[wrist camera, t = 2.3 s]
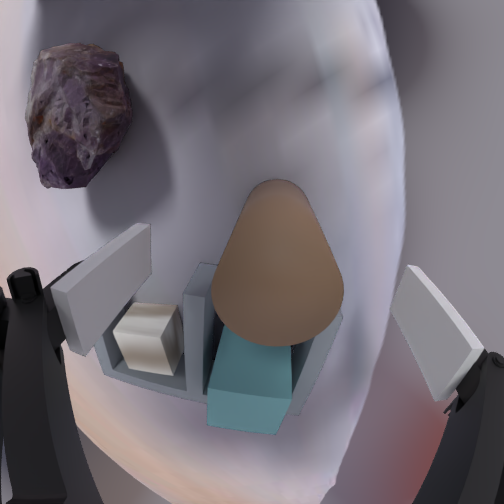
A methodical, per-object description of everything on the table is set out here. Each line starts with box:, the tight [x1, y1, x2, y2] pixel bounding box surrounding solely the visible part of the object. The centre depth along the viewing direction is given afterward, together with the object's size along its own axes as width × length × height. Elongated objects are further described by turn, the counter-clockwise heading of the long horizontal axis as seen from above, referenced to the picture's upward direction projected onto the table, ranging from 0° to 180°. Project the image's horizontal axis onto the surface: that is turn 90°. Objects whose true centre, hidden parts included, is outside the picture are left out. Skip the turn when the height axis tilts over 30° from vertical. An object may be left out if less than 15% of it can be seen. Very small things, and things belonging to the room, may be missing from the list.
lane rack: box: [94, 263, 343, 416], centre depth 24 cm, size 14×22×5 cm, turn 83°
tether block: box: [207, 179, 344, 435], centre depth 18 cm, size 19×6×12 cm, turn 173°
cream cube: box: [113, 302, 184, 376], centre depth 25 cm, size 5×5×5 cm
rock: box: [25, 43, 133, 189], centre depth 15 cm, size 12×9×10 cm
